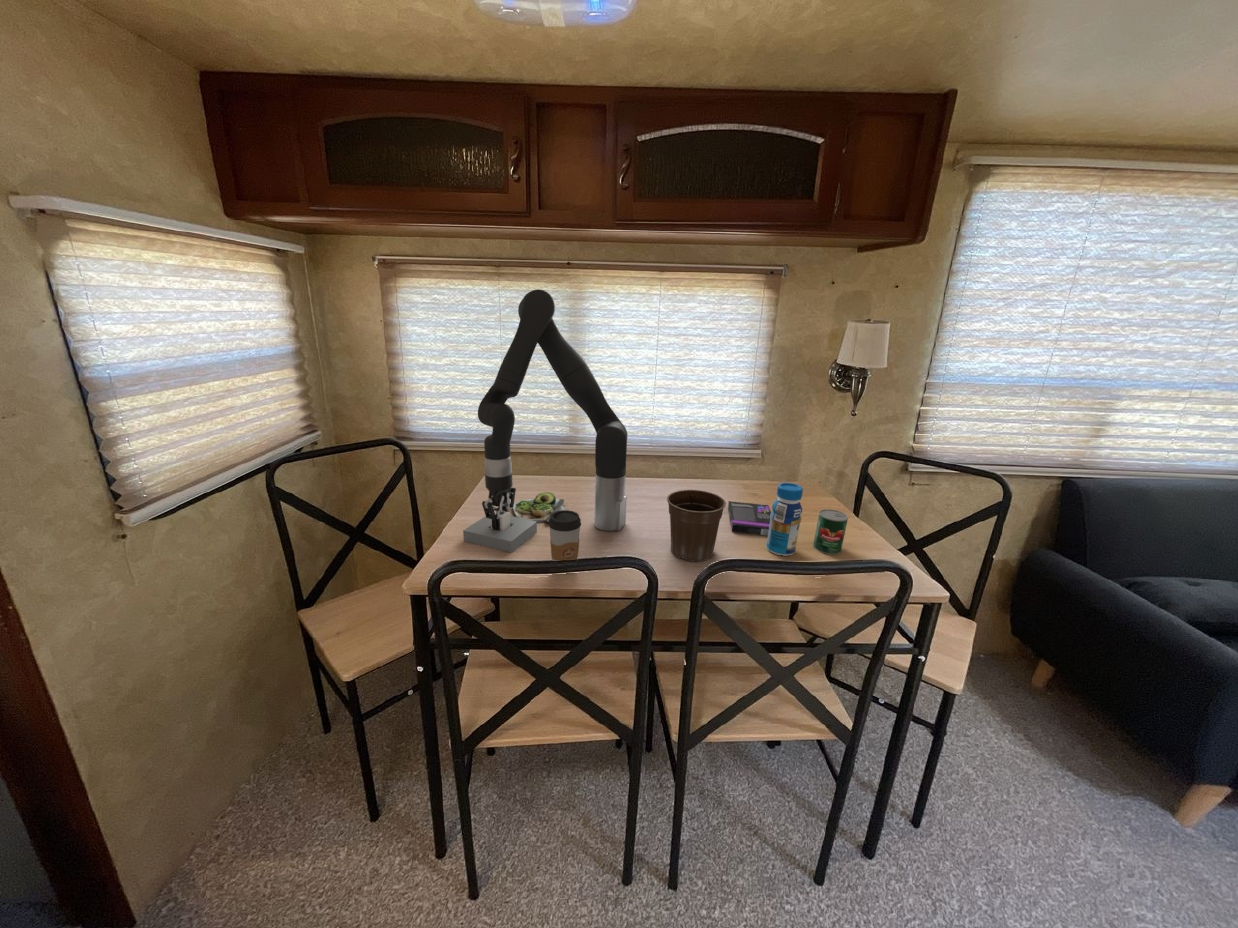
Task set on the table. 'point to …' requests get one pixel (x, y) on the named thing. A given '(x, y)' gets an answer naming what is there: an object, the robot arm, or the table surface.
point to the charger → (503, 520)
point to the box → (749, 518)
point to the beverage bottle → (785, 520)
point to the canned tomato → (830, 531)
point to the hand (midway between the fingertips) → (500, 526)
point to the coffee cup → (564, 534)
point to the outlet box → (500, 534)
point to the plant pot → (694, 523)
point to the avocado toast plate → (539, 507)
